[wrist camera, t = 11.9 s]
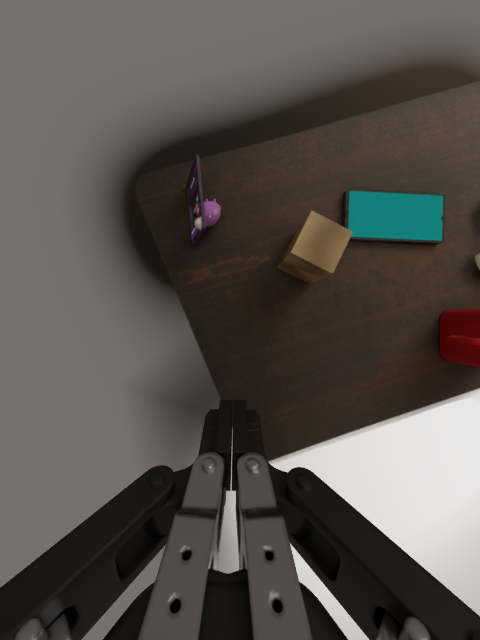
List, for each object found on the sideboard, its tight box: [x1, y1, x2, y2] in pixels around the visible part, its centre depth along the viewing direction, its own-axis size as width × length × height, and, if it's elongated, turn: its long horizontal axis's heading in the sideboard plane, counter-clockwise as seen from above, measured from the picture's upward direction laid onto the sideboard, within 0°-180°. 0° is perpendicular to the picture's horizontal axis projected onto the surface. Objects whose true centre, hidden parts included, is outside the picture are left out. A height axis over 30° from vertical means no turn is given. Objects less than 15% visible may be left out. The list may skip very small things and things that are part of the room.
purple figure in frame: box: [186, 154, 221, 246], centre depth 32 cm, size 7×5×9 cm
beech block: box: [277, 210, 353, 284], centre depth 32 cm, size 6×6×8 cm
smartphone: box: [343, 189, 445, 244], centre depth 36 cm, size 7×1×15 cm
